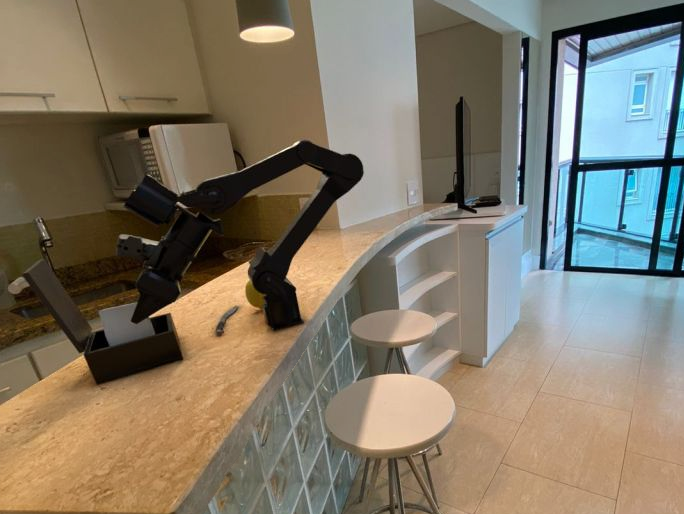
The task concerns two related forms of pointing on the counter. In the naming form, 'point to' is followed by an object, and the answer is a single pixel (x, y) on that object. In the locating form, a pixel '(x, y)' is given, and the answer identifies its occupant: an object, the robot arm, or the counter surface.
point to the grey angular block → (124, 325)
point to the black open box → (133, 352)
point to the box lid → (55, 302)
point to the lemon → (254, 296)
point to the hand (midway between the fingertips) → (136, 314)
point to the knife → (222, 321)
